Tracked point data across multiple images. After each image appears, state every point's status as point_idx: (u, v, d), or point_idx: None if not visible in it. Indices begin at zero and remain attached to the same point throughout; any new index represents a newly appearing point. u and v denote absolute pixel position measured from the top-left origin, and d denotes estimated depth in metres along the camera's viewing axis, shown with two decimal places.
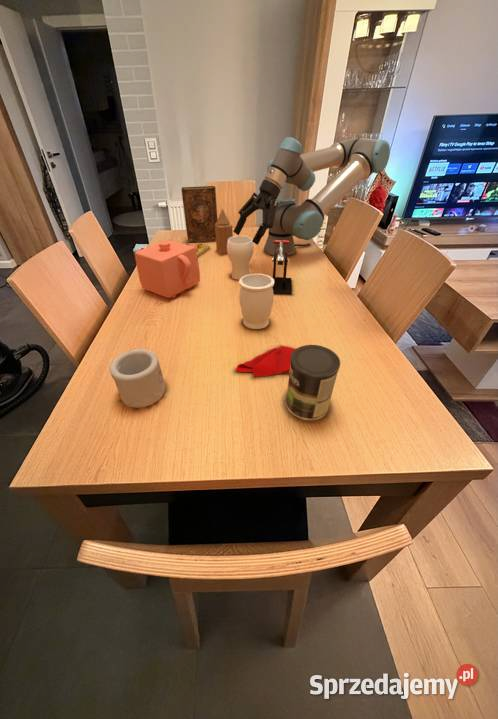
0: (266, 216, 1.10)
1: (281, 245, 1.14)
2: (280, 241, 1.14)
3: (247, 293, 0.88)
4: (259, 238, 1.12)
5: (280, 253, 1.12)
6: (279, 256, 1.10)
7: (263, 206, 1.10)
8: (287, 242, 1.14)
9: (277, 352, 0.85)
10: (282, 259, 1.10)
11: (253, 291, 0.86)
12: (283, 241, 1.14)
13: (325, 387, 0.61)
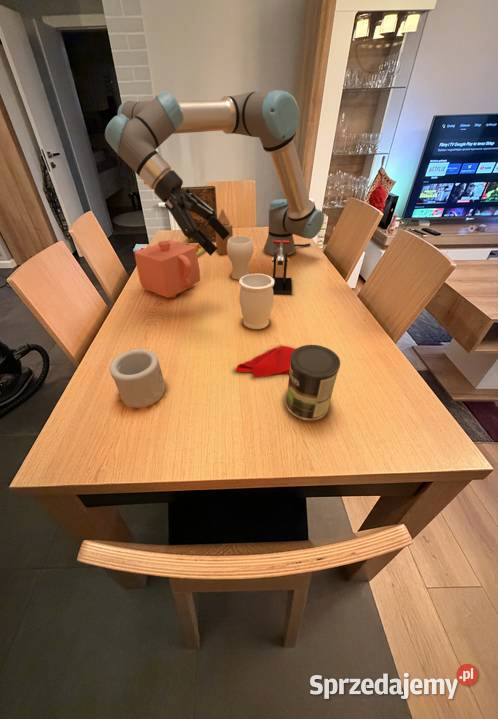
0: None
1: (281, 245, 1.14)
2: (280, 241, 1.14)
3: (247, 293, 0.88)
4: (208, 244, 0.78)
5: (280, 253, 1.12)
6: (279, 256, 1.10)
7: None
8: (287, 242, 1.14)
9: (277, 352, 0.85)
10: (282, 259, 1.10)
11: (253, 291, 0.86)
12: (283, 241, 1.14)
13: (325, 387, 0.61)
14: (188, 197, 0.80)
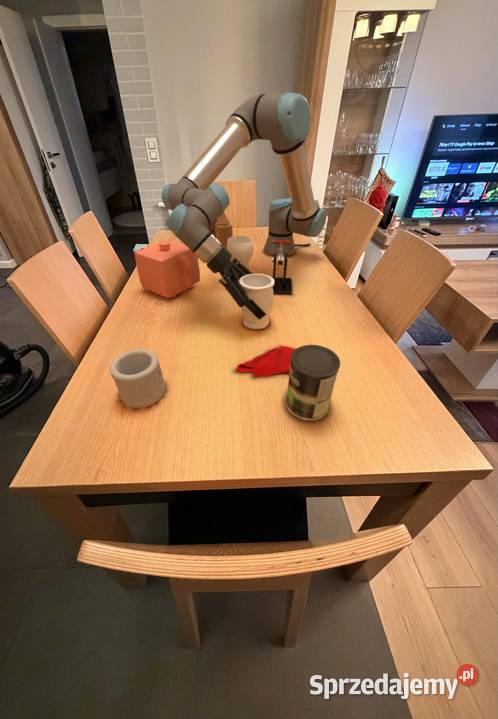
0: None
1: (281, 245, 1.14)
2: (280, 241, 1.14)
3: (247, 293, 0.88)
4: (258, 311, 0.89)
5: (280, 253, 1.12)
6: (279, 256, 1.10)
7: None
8: (287, 242, 1.14)
9: (277, 352, 0.85)
10: (282, 259, 1.10)
11: (253, 291, 0.86)
12: (283, 241, 1.14)
13: (325, 387, 0.61)
14: (236, 268, 0.89)
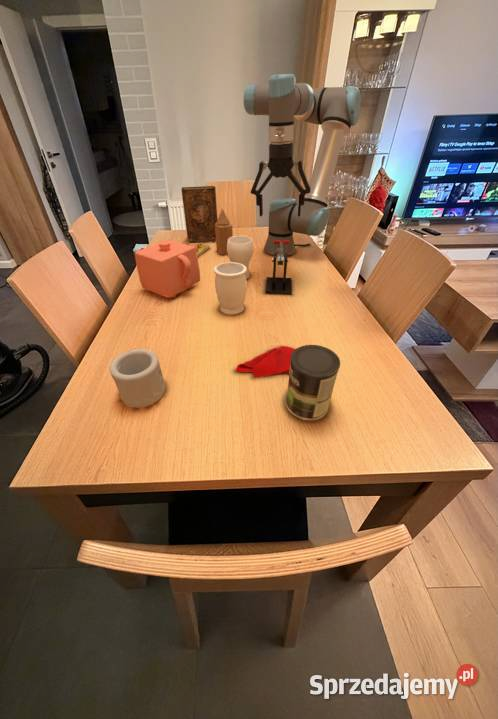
0: (298, 183, 0.99)
1: (281, 245, 1.14)
2: (280, 241, 1.14)
3: (221, 279, 0.94)
4: (300, 207, 1.05)
5: (280, 253, 1.12)
6: (279, 256, 1.10)
7: (290, 175, 0.97)
8: (287, 242, 1.14)
9: (277, 352, 0.85)
10: (282, 259, 1.10)
11: (226, 278, 0.93)
12: (283, 241, 1.14)
13: (325, 387, 0.61)
14: None
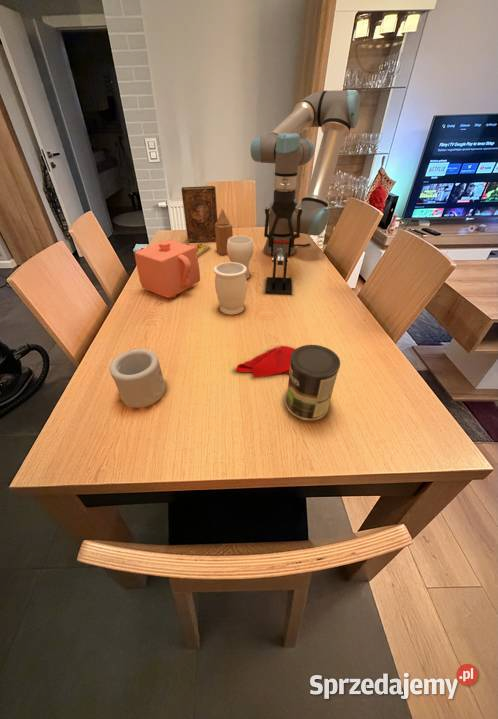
0: (292, 228, 1.11)
1: (281, 245, 1.14)
2: (280, 241, 1.14)
3: (221, 279, 0.94)
4: None
5: (280, 253, 1.12)
6: (279, 256, 1.10)
7: (289, 219, 1.08)
8: (287, 242, 1.14)
9: (277, 352, 0.85)
10: (282, 259, 1.10)
11: (226, 278, 0.93)
12: (283, 241, 1.14)
13: (325, 387, 0.61)
14: None
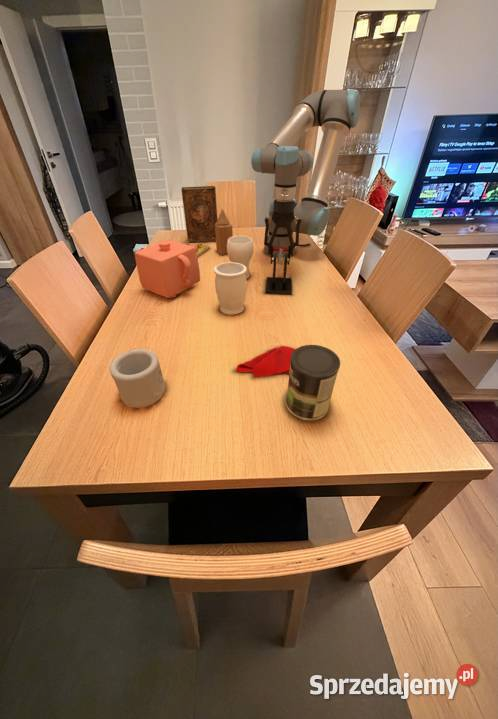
0: (291, 236, 1.14)
1: (281, 250, 1.16)
2: (280, 248, 1.17)
3: (221, 280, 0.94)
4: None
5: (280, 255, 1.13)
6: (279, 256, 1.11)
7: (288, 228, 1.11)
8: (286, 248, 1.17)
9: (277, 352, 0.85)
10: (282, 258, 1.10)
11: (226, 278, 0.93)
12: (282, 248, 1.17)
13: (325, 387, 0.61)
14: None
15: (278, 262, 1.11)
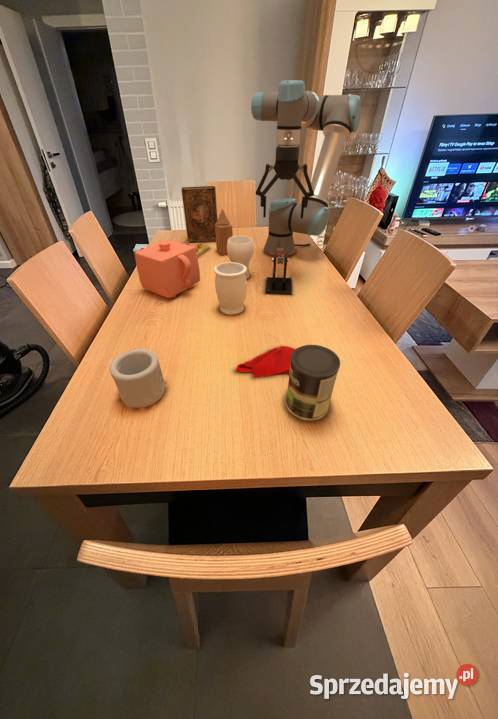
0: (302, 186, 1.02)
1: (280, 255, 1.17)
2: (279, 254, 1.19)
3: (221, 279, 0.94)
4: None
5: None
6: (279, 256, 1.11)
7: (295, 177, 1.00)
8: None
9: (277, 352, 0.85)
10: (282, 257, 1.10)
11: (226, 278, 0.93)
12: (282, 254, 1.19)
13: (325, 387, 0.61)
14: None
15: (278, 261, 1.10)
